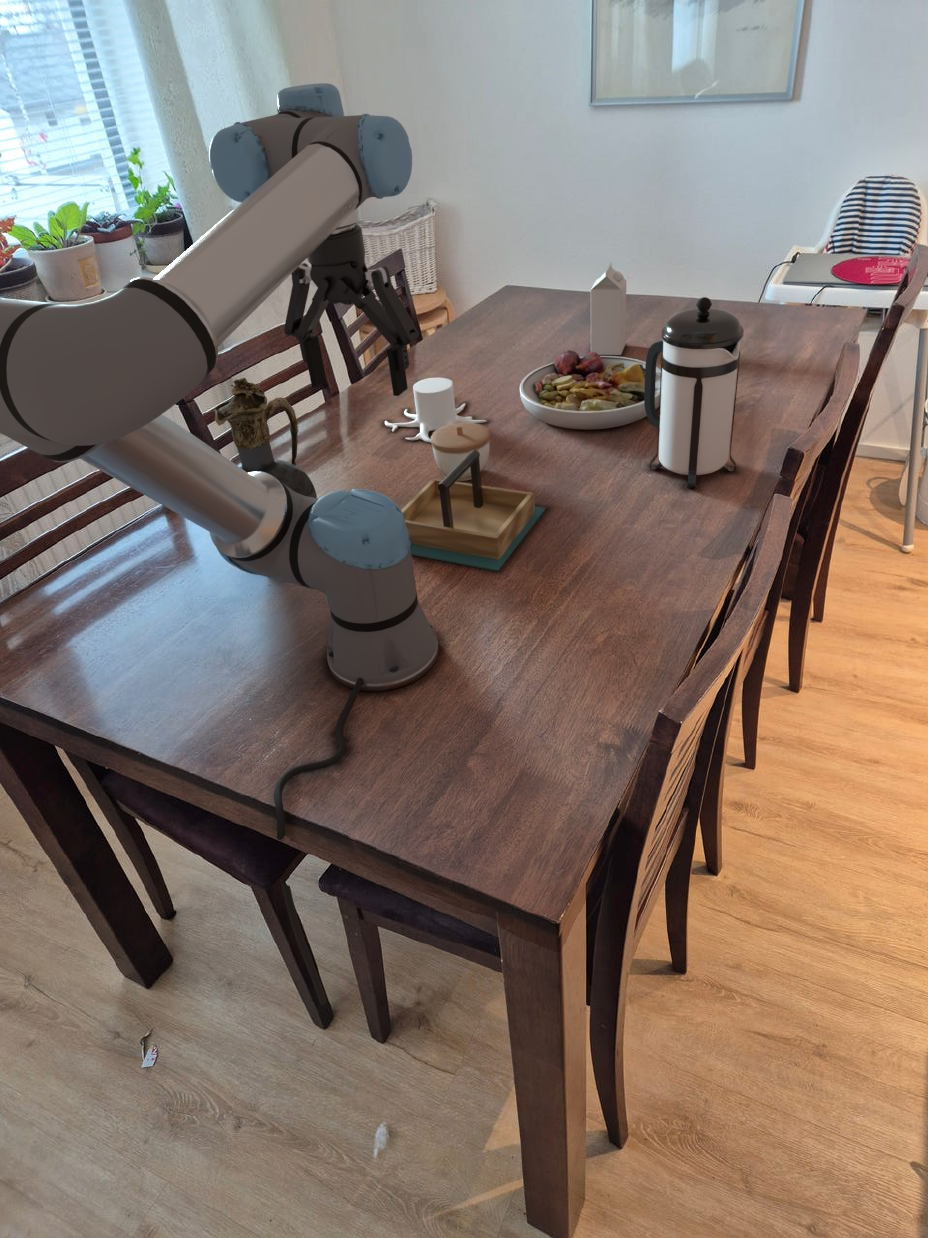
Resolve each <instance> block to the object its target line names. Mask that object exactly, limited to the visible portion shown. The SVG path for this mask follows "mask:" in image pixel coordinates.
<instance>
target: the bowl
mask: <svg viewBox="0 0 928 1238" xmlns="http://www.w3.org/2000/svg"><path fill="white" fill-rule="evenodd" d="M645 365H646V361H644V360H640V359H636V358H633V357H632V358H631V357H625V356H618V355H598V354H597V353H595V352H591V351H589V352H587V353H585V355H583V356H580V355H579V354H578V353H577V352H576V351H574V350H570V349H568V350H564V351H562V352H560V353H559V354H557V356H556V357H555V360H554V362H550V363H548V364H547V363H546V364H545V365H542V366H540V367H538V368H536V369H534V370H532V371H531V372H529V373H528V374H527V375H526V376H524V378H522V380H521V382H520V385H519V395H520V400H521V402H522V405H523V406H524V408H525V409H526V410H527V412H529V414H531V415H532V416H533V417H535V418H536V419H538V420H539V421H541V422H544V423H546V424H547V425H548V424H549V425H551V426H555V427H559V428H563V429H570V430H589V431H590V430H592V431H593V430H604V429H611V428H618V427H622V426H626V425H629V424H632V423H635V422H637V421H641V420H642V419H644V418H646V417H647V414H646V411H645V404H644V389H645ZM660 377H661V368H660V367H658V366H656V382H655V409H656V410H657V409H659V399H660ZM661 385H662V378H661ZM660 405H661V400H660Z"/></svg>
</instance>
